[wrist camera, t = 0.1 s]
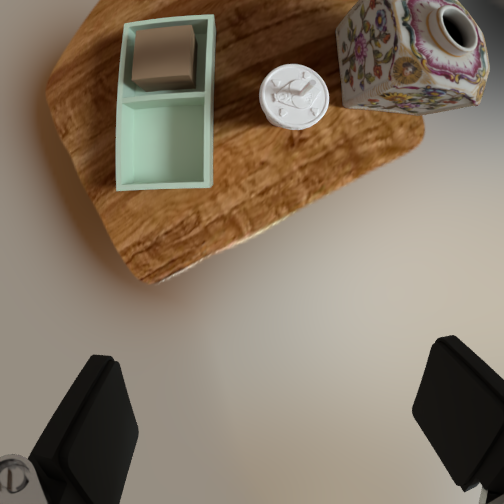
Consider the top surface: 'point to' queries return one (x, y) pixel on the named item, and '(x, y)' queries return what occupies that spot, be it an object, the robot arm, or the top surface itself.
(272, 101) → the white cup
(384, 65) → the decorative jar
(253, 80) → the top surface
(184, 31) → the walnut block
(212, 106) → the tote
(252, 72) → the top surface
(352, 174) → the top surface
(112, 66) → the top surface
